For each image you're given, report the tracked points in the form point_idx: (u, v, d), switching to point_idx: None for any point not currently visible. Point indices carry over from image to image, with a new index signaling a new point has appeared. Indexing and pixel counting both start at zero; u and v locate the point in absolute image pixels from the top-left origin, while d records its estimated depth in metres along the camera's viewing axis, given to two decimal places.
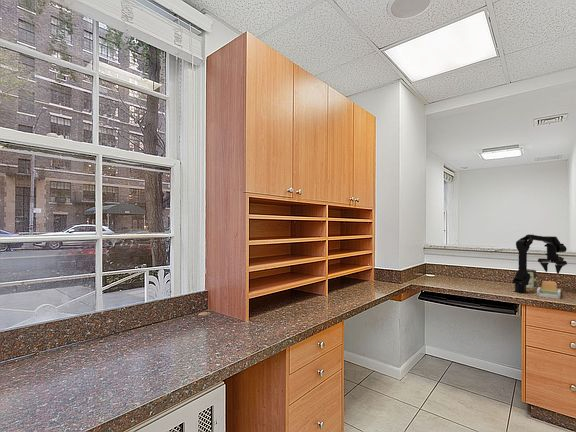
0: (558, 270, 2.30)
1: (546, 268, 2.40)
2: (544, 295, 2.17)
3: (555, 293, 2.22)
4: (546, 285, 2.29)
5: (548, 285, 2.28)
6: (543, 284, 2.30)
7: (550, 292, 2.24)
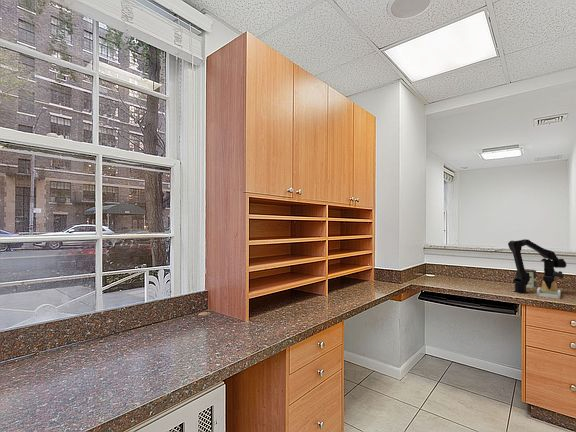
0: (548, 285, 2.27)
1: None
2: (544, 295, 2.17)
3: (555, 293, 2.22)
4: (546, 285, 2.29)
5: None
6: (543, 284, 2.30)
7: (550, 292, 2.24)
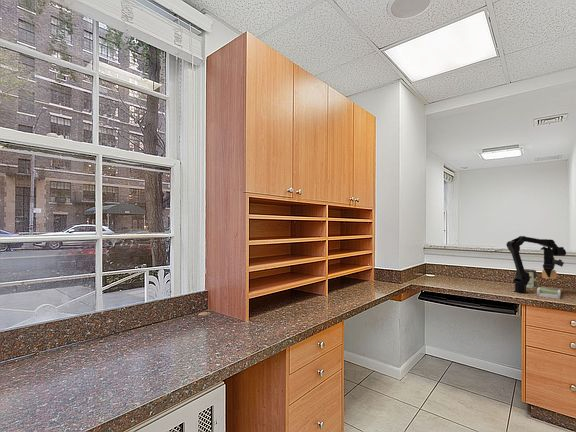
0: (548, 273, 2.27)
1: None
2: (544, 295, 2.17)
3: (555, 293, 2.22)
4: None
5: None
6: (543, 272, 2.30)
7: (550, 292, 2.24)
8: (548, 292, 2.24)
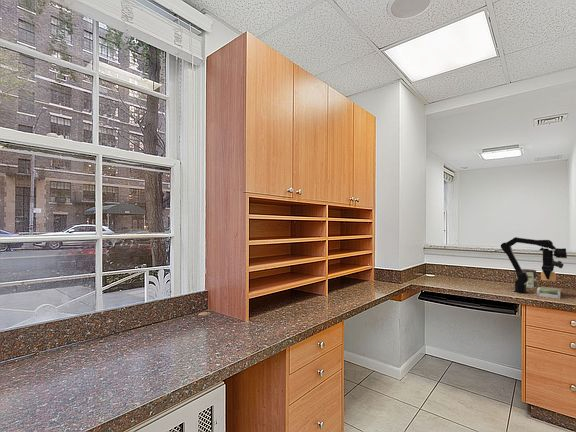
0: (547, 275, 2.18)
1: None
2: (544, 295, 2.17)
3: (555, 293, 2.22)
4: None
5: None
6: (542, 274, 2.21)
7: (550, 292, 2.24)
8: (548, 292, 2.24)
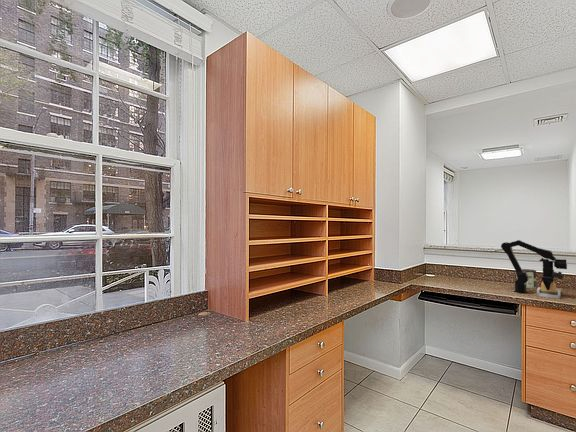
0: (547, 286, 2.18)
1: None
2: (544, 295, 2.17)
3: (555, 293, 2.22)
4: None
5: None
6: (542, 285, 2.20)
7: (550, 292, 2.24)
8: (548, 292, 2.24)
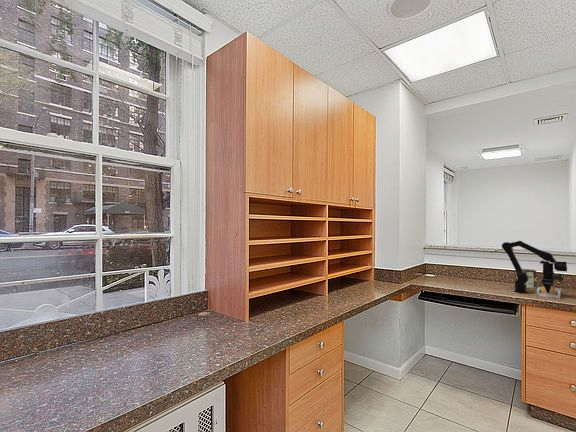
0: (547, 289, 2.17)
1: None
2: (544, 295, 2.17)
3: None
4: (545, 291, 2.19)
5: None
6: (542, 290, 2.20)
7: None
8: None
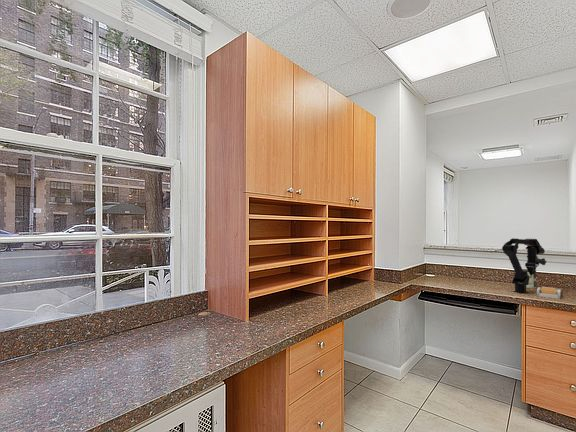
0: (530, 272, 2.33)
1: (533, 270, 2.40)
2: (544, 295, 2.17)
3: None
4: (545, 291, 2.19)
5: (547, 291, 2.18)
6: (542, 290, 2.20)
7: None
8: None
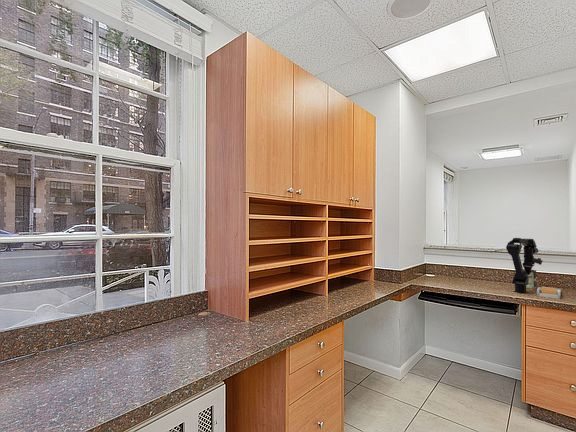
0: (527, 271, 2.36)
1: (529, 270, 2.43)
2: (544, 295, 2.17)
3: None
4: (546, 291, 2.19)
5: (548, 291, 2.18)
6: (542, 290, 2.20)
7: None
8: None
